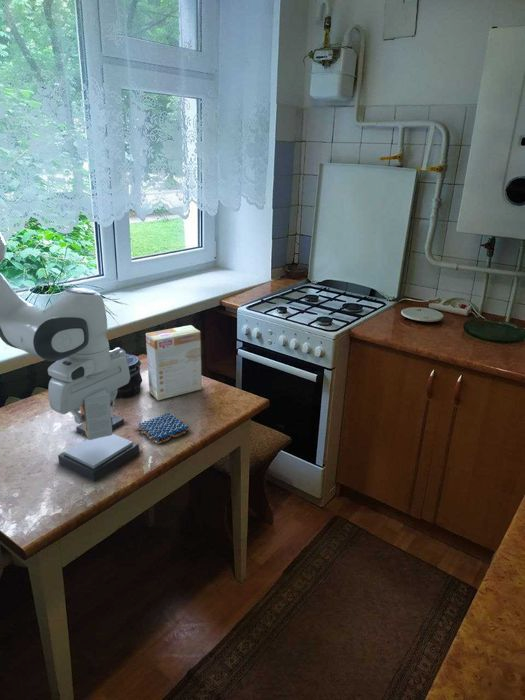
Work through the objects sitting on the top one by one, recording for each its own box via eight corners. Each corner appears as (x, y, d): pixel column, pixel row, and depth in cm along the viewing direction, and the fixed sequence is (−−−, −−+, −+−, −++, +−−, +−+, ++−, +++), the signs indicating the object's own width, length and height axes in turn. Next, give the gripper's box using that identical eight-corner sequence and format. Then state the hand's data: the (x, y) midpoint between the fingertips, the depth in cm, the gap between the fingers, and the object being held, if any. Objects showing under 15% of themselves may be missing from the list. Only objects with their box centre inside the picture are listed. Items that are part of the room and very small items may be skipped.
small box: (81, 424, 118) (77, 384, 114) (105, 419, 121) (101, 380, 117) (88, 441, 112) (83, 399, 108) (113, 435, 114) (109, 394, 110)
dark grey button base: (95, 439, 127) (93, 429, 125) (76, 431, 130) (75, 421, 129) (124, 423, 135) (123, 413, 133) (106, 416, 138) (105, 406, 137)
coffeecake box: (192, 381, 160) (190, 324, 153) (202, 389, 155) (201, 331, 148) (148, 391, 152) (144, 332, 145) (157, 401, 147) (154, 339, 140)
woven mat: (169, 417, 138) (169, 410, 138) (191, 432, 131) (191, 425, 130) (135, 429, 132) (135, 422, 131) (157, 446, 125) (156, 439, 124)
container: (115, 378, 161) (112, 350, 157) (150, 384, 157) (148, 355, 153) (91, 395, 149) (87, 364, 146) (128, 402, 146) (126, 371, 142)
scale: (94, 481, 111) (93, 469, 109) (59, 464, 116) (57, 452, 115) (139, 452, 122) (138, 441, 121) (105, 438, 127) (104, 426, 126)
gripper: (115, 342, 119) (119, 393, 124) (40, 371, 103) (49, 428, 108) (134, 348, 116) (137, 400, 121) (60, 378, 100) (68, 437, 105)
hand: (95, 414), depth 115 cm, fingers closed on small box, 7 cm apart
